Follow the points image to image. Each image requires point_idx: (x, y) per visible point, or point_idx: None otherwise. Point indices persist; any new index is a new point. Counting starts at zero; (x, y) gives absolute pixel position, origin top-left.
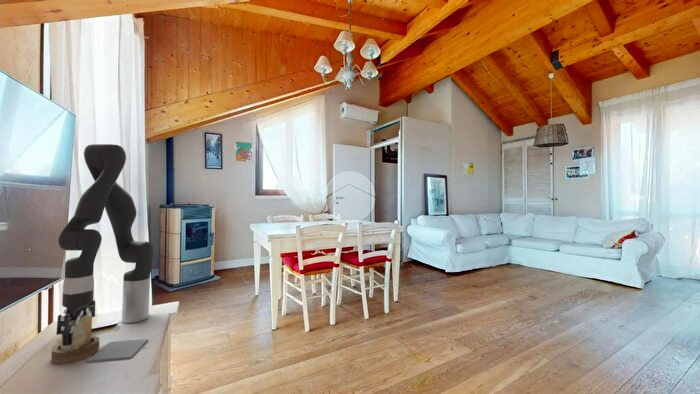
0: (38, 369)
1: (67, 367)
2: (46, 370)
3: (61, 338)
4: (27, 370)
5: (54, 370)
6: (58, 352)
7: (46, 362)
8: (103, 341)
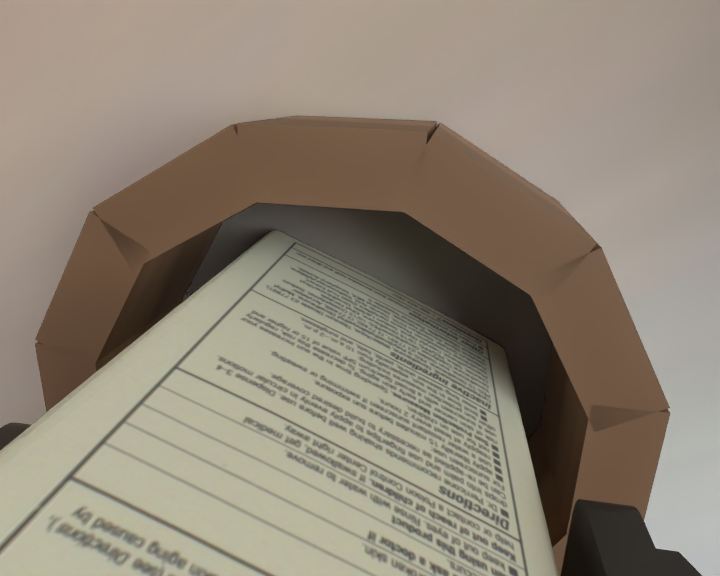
0: (39, 132)
1: None
2: (18, 240)
3: (122, 352)
4: (19, 4)
5: (18, 322)
6: (48, 337)
7: (197, 112)
8: (697, 525)
